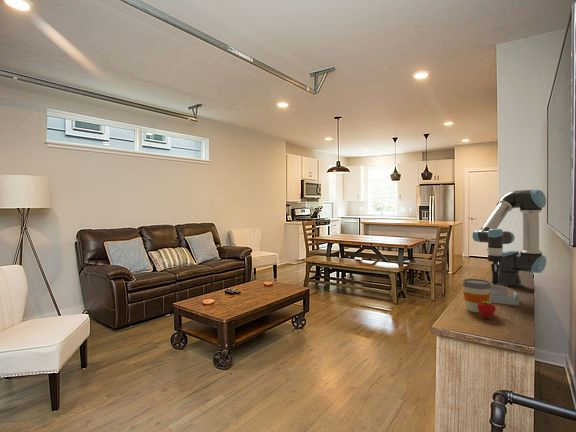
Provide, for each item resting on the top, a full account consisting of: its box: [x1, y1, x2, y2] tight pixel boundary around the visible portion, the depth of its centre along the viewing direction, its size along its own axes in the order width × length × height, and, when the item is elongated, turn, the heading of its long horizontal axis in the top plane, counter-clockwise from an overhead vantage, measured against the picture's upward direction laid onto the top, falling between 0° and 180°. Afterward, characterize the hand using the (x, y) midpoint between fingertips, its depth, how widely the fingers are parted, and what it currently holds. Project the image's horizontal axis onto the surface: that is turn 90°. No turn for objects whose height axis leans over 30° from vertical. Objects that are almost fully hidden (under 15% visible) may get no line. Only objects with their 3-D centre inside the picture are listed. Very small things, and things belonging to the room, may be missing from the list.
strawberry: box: [477, 298, 496, 320], centre depth 159 cm, size 6×8×10 cm
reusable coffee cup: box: [462, 278, 491, 313], centre depth 173 cm, size 12×13×15 cm
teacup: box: [489, 284, 509, 297], centre depth 193 cm, size 14×11×8 cm
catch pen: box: [489, 291, 520, 306], centre depth 192 cm, size 15×21×5 cm
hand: (494, 294), depth 199 cm, fingers closed
